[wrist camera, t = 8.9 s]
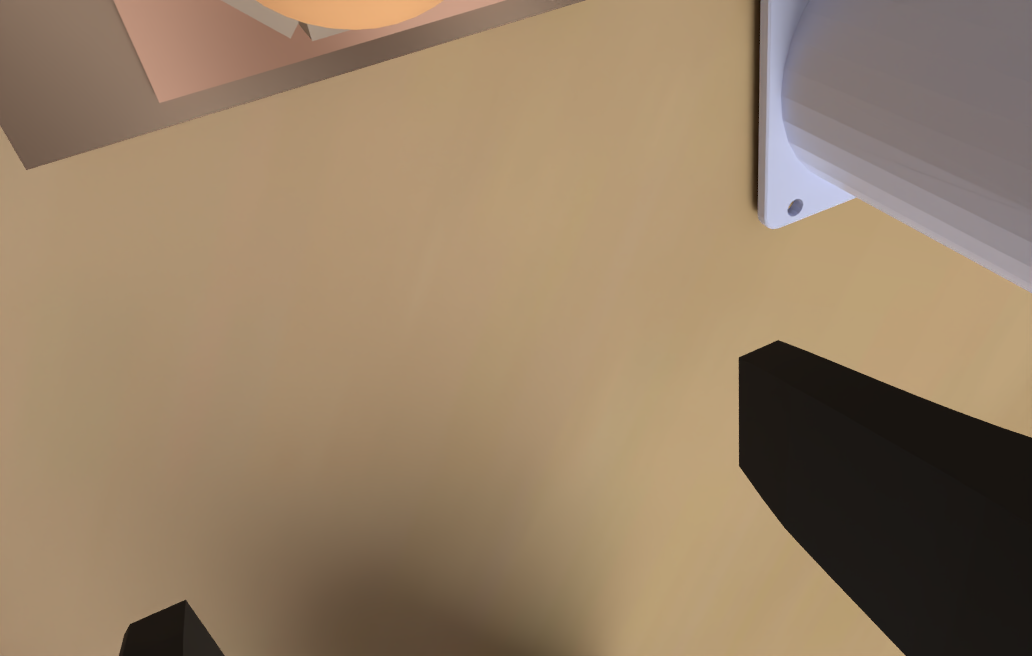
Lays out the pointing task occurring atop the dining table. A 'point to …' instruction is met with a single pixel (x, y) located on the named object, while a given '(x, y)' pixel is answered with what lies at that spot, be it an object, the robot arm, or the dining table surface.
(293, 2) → the ball
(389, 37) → the rack
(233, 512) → the dining table surface
